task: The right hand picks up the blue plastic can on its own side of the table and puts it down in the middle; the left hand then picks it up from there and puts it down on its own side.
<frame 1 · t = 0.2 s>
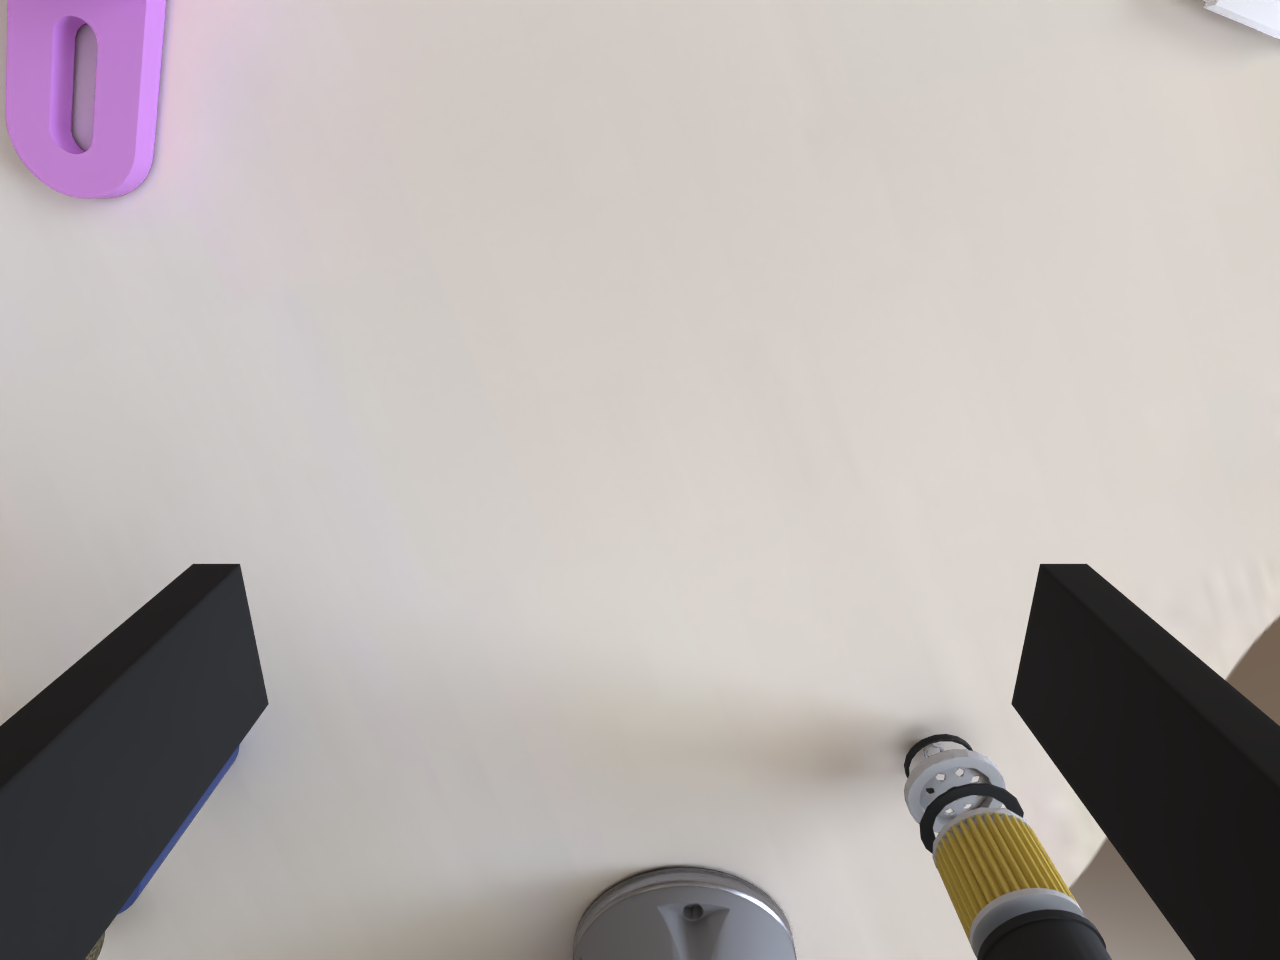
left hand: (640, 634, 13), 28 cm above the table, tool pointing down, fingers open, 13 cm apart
bracket: (99, 46, 35), on the table
can: (187, 736, 48), on the table
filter: (931, 748, 48), on the table
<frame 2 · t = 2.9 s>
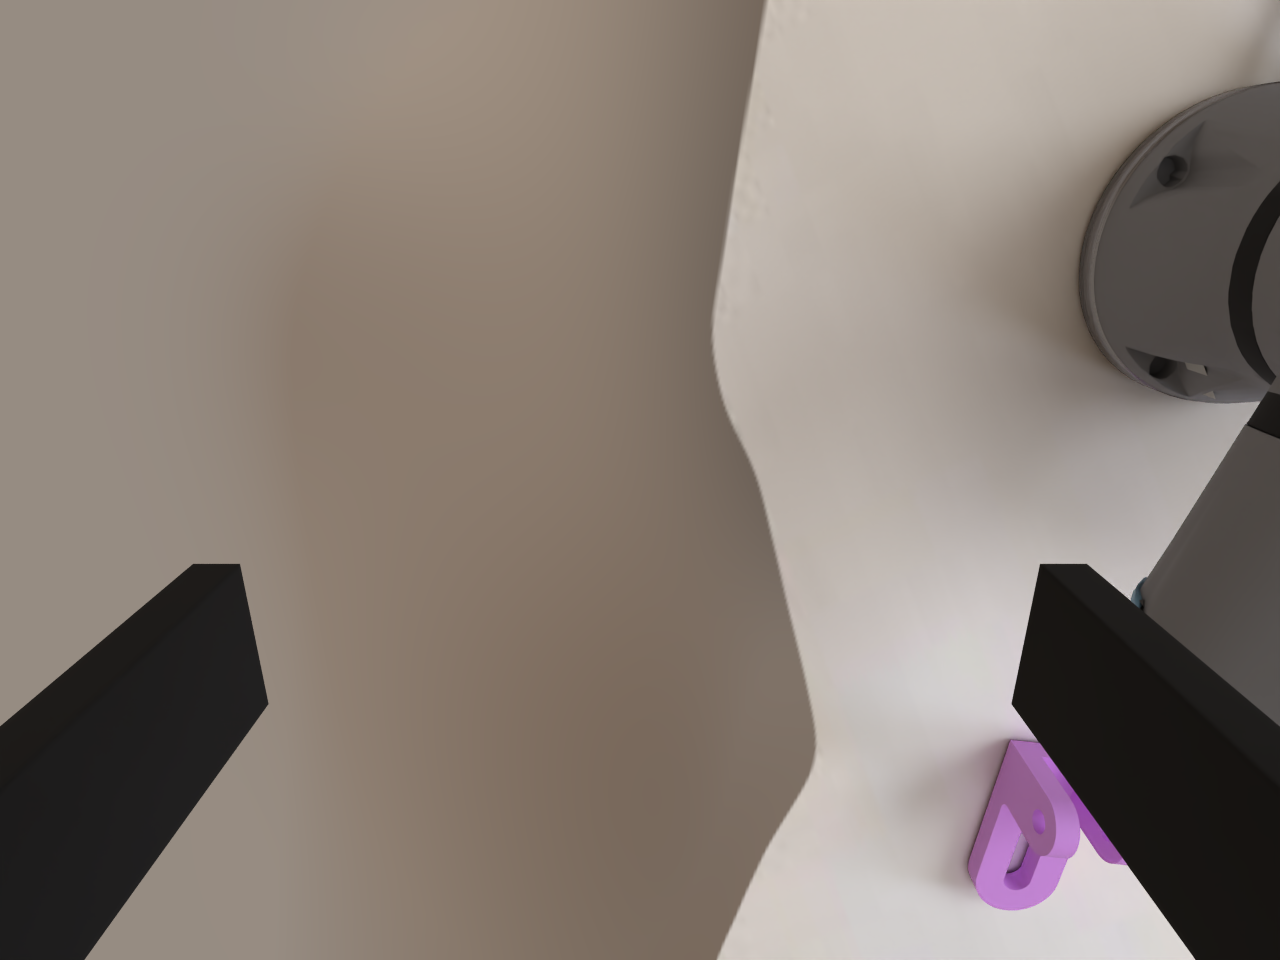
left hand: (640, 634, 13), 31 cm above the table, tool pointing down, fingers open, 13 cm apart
bracket: (1022, 819, 53), on the table
when the right hand's fingers open (4 cm above the table, at t = 8.8 s): can drops 1 cm, on the table.
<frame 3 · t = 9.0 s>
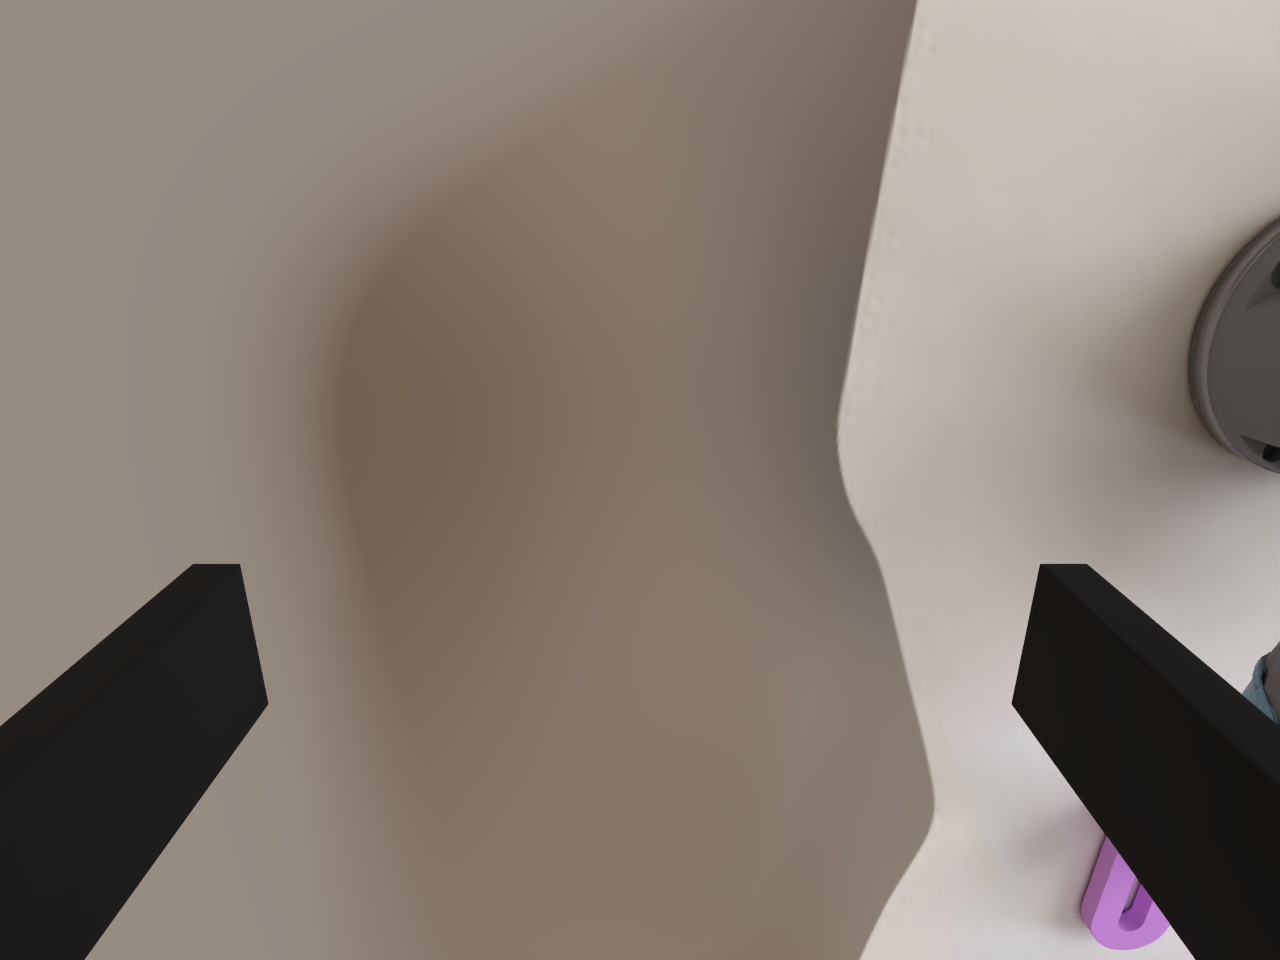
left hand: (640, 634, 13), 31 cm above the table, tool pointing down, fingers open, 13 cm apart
bracket: (1133, 863, 55), on the table
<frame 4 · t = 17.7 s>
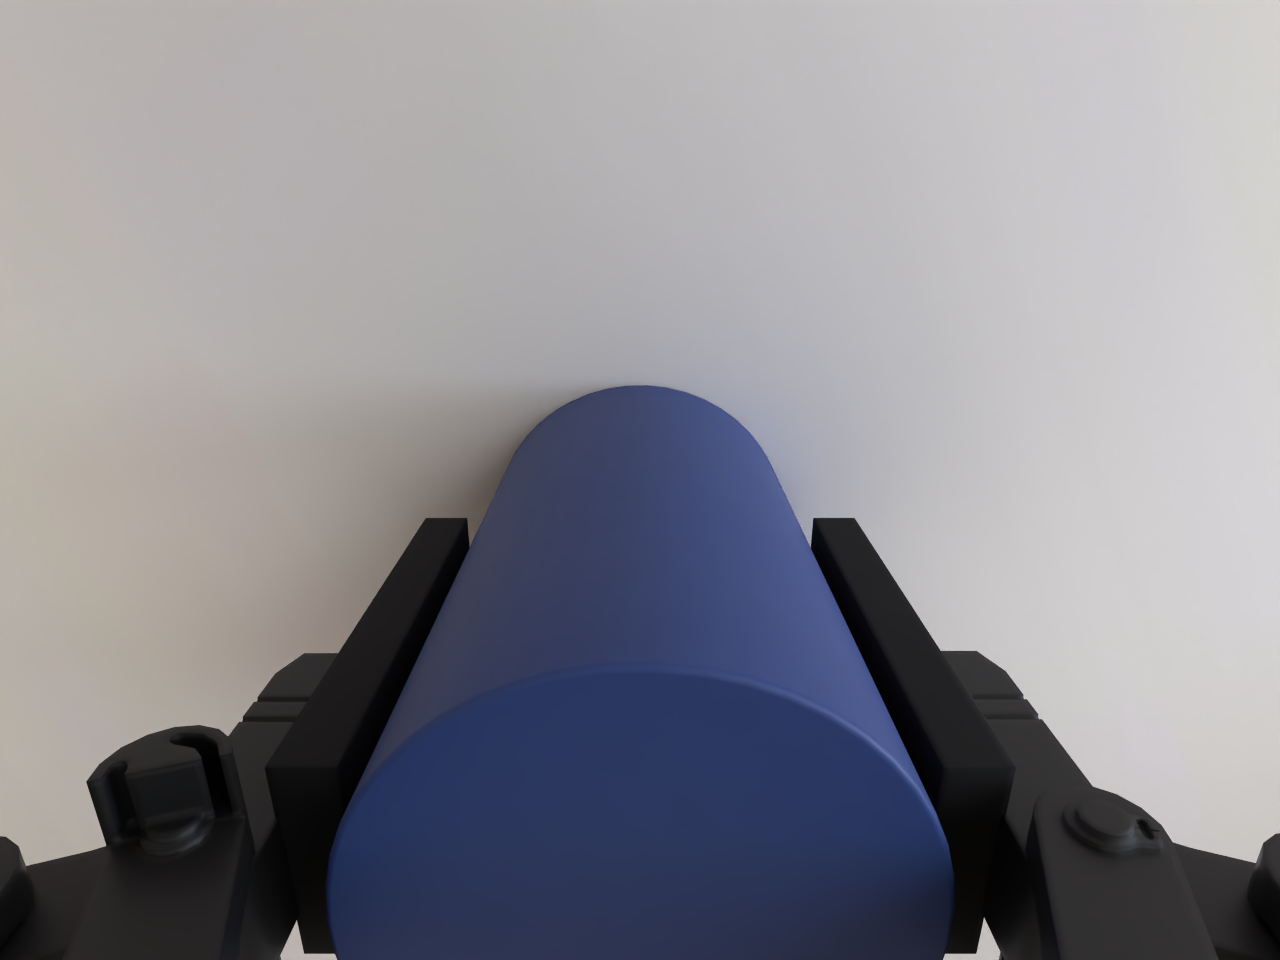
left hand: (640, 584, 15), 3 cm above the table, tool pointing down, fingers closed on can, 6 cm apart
can: (639, 523, 17), on the table, touching left hand
when the left hand's fingers open (4 cm above the table, at t = 30.2 s): can drops 1 cm, on the table.
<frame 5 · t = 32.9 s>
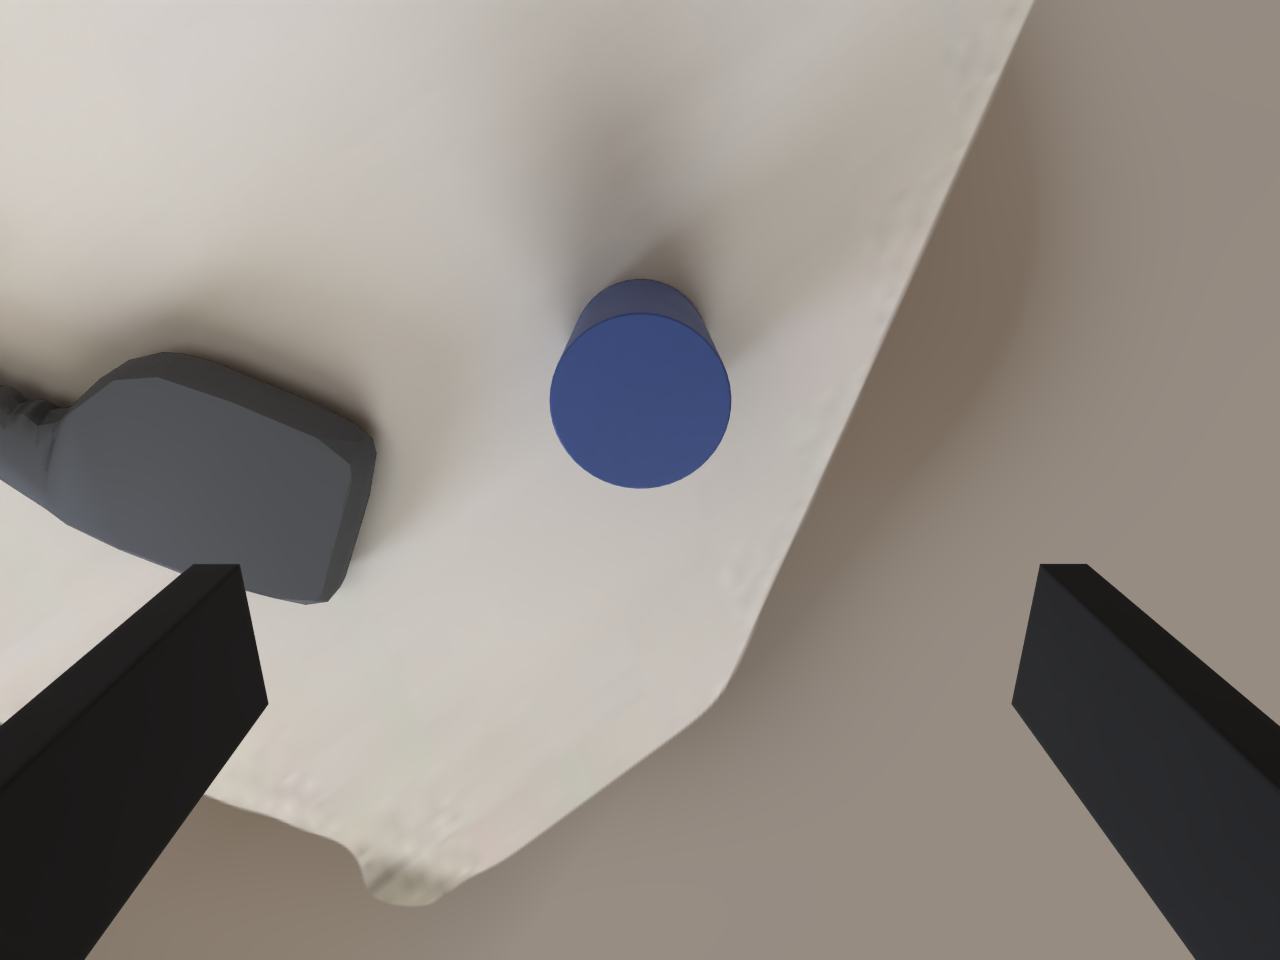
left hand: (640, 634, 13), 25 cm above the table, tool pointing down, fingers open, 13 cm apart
can: (640, 348, 37), on the table
dark grey flat piece: (124, 428, 38), on the table
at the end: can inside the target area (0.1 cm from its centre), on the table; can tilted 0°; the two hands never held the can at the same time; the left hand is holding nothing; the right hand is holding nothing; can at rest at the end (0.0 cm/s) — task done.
